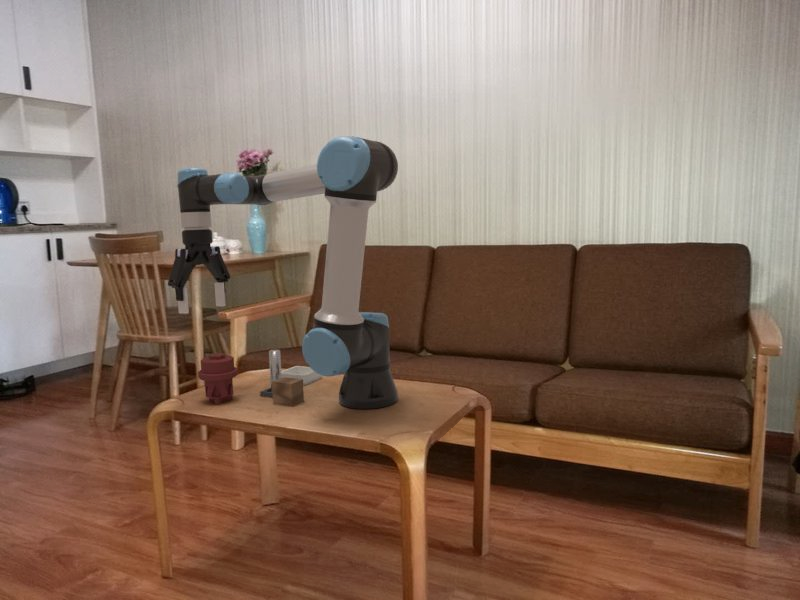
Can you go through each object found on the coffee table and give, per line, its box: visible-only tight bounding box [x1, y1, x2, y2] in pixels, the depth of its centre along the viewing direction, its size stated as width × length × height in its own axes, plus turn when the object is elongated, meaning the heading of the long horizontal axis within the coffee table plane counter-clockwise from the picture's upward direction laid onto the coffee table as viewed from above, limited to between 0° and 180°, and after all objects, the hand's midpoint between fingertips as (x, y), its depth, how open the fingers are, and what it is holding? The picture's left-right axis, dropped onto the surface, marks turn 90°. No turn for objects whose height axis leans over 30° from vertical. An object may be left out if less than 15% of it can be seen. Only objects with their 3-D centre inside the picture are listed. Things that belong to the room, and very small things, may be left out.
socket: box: [259, 387, 273, 399], centre depth 169 cm, size 6×6×1 cm
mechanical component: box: [197, 352, 239, 405], centre depth 164 cm, size 12×10×10 cm
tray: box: [281, 365, 323, 387], centre depth 183 cm, size 9×9×3 cm
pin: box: [268, 349, 282, 392], centre depth 169 cm, size 3×3×12 cm
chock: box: [272, 377, 305, 408], centre depth 161 cm, size 6×5×6 cm
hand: (203, 309), depth 166 cm, fingers open, 13 cm apart
